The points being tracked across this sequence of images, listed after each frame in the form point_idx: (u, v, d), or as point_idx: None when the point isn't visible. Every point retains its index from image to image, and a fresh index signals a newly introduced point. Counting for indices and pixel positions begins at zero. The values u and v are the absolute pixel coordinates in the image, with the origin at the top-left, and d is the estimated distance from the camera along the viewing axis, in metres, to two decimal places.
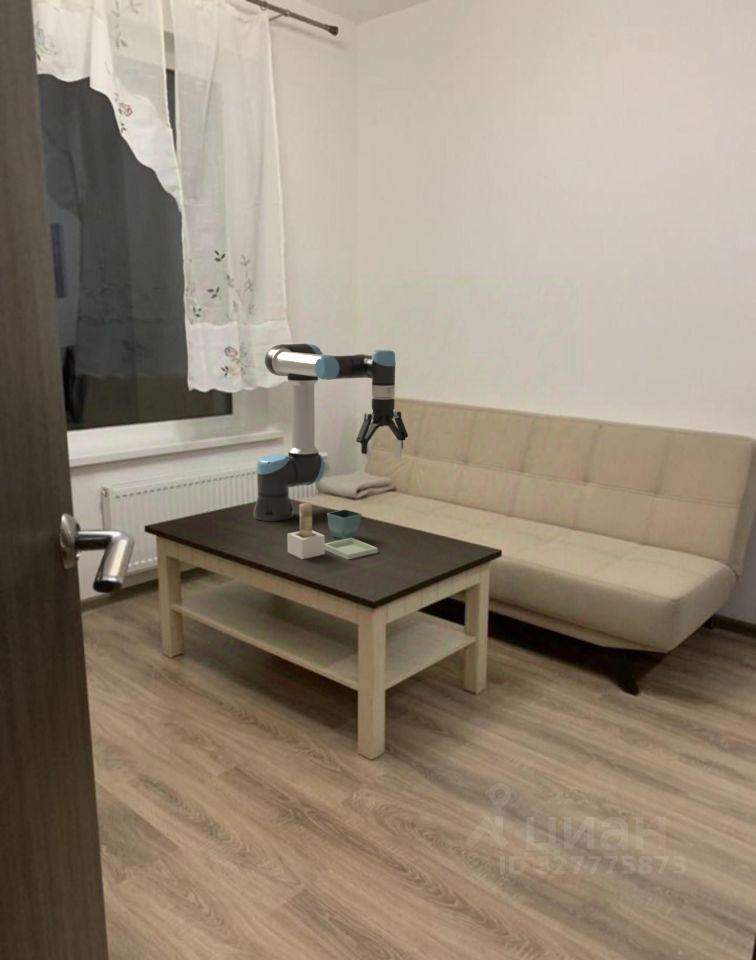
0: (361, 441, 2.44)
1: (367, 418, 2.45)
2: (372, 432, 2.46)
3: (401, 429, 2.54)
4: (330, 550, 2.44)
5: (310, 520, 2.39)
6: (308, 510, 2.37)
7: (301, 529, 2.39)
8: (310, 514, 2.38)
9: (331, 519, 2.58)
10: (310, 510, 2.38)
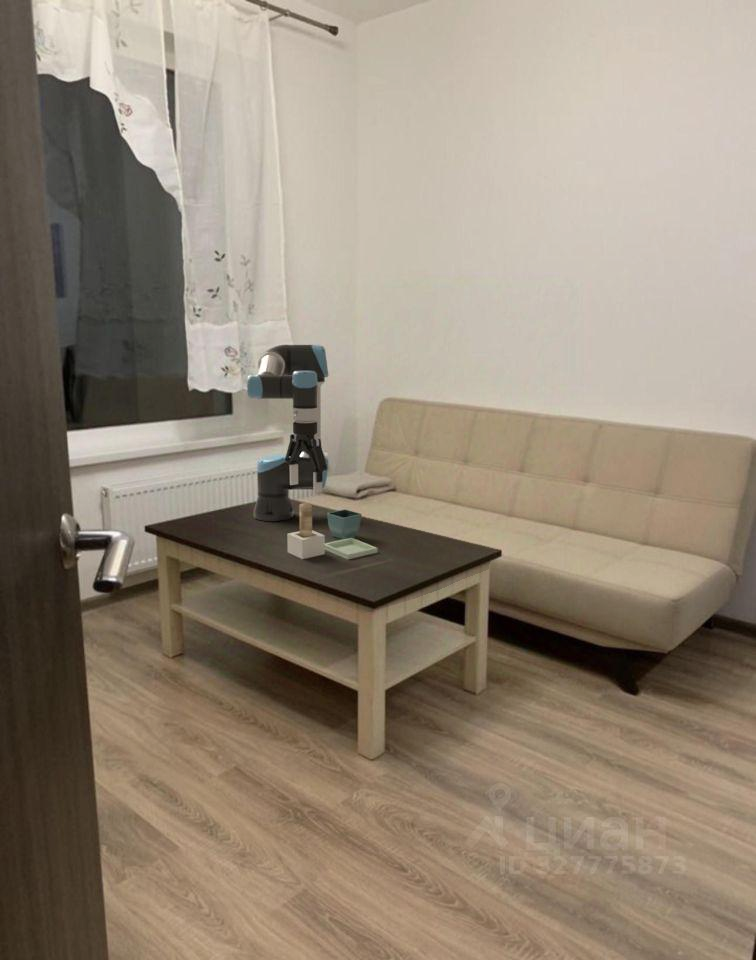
0: (285, 459, 2.42)
1: None
2: (293, 453, 2.38)
3: None
4: (330, 550, 2.44)
5: (310, 520, 2.39)
6: (308, 510, 2.37)
7: (301, 529, 2.39)
8: (310, 514, 2.38)
9: (331, 519, 2.58)
10: (310, 510, 2.38)
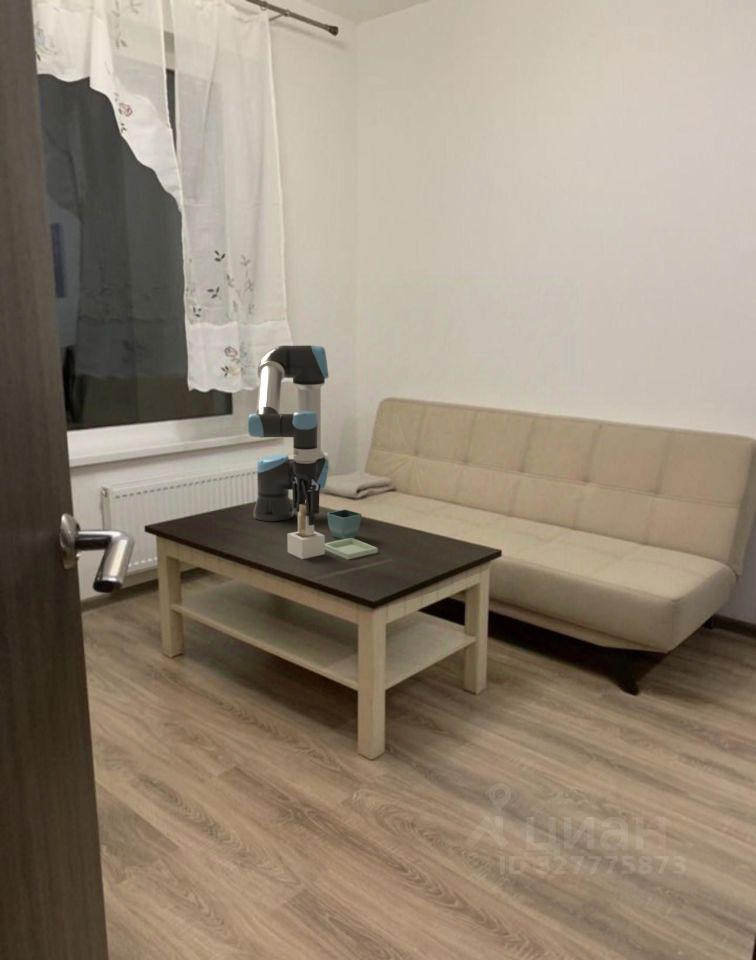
0: (293, 506, 2.42)
1: None
2: (298, 497, 2.39)
3: None
4: (330, 550, 2.44)
5: None
6: None
7: (301, 529, 2.39)
8: None
9: (331, 519, 2.58)
10: None
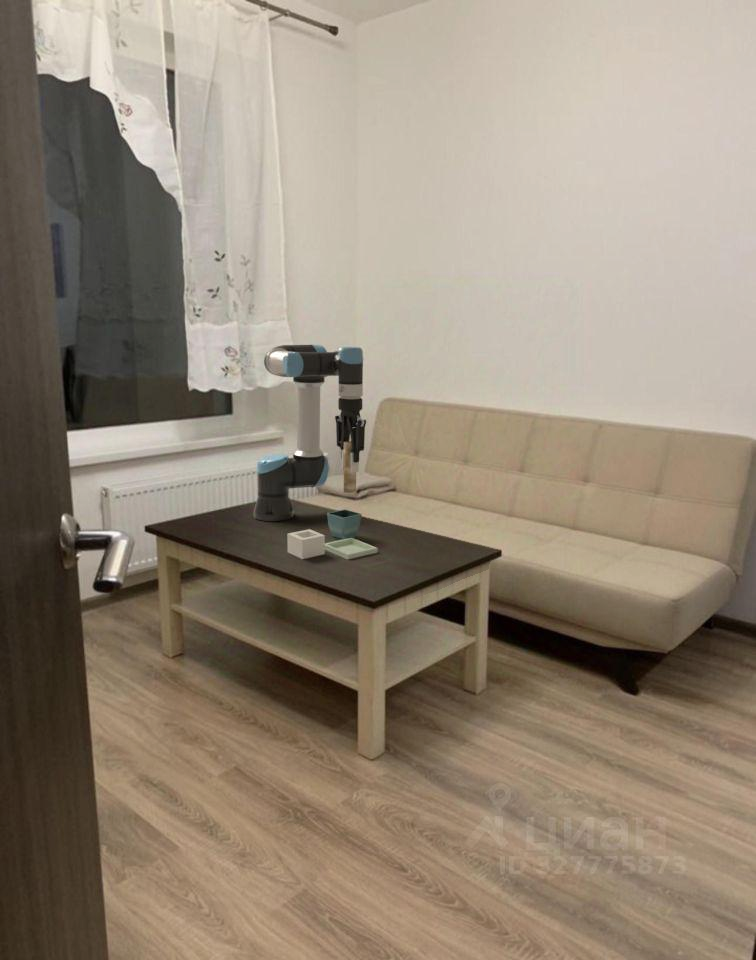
0: (337, 445, 2.41)
1: None
2: (342, 435, 2.39)
3: None
4: (330, 550, 2.44)
5: None
6: None
7: (345, 467, 2.38)
8: None
9: (331, 519, 2.58)
10: None
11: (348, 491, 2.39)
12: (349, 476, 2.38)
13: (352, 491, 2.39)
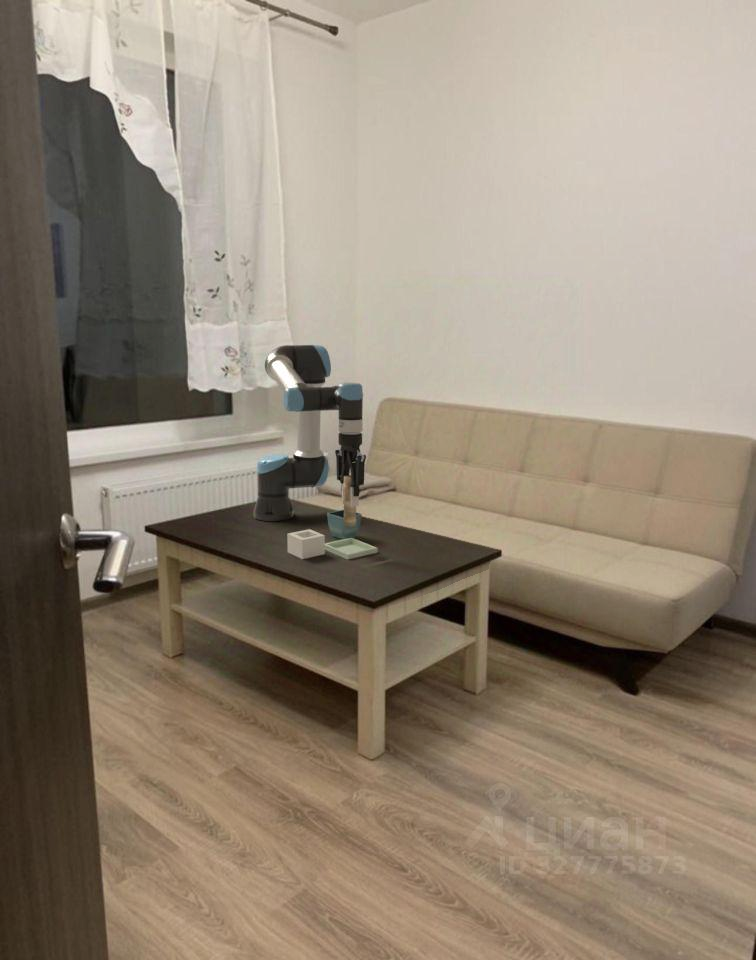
0: (337, 478, 2.44)
1: None
2: (342, 469, 2.41)
3: None
4: (330, 550, 2.44)
5: None
6: None
7: (345, 500, 2.40)
8: None
9: (331, 519, 2.58)
10: None
11: (348, 524, 2.41)
12: (349, 510, 2.40)
13: (352, 524, 2.42)
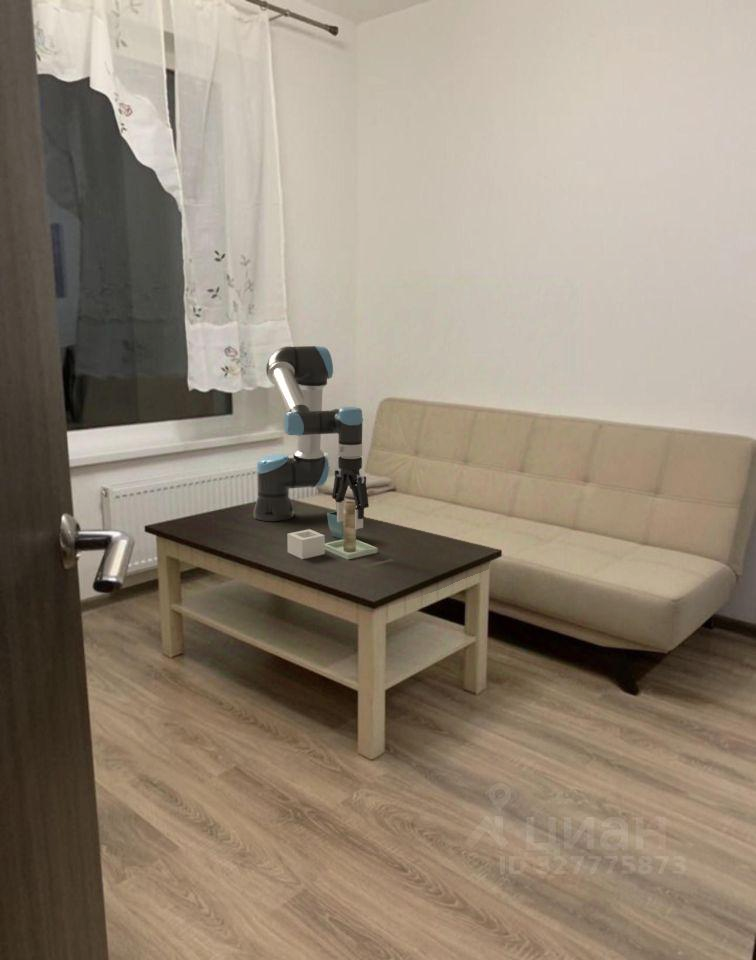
0: (332, 497, 2.47)
1: None
2: (339, 490, 2.44)
3: None
4: (330, 550, 2.44)
5: (354, 518, 2.42)
6: (353, 508, 2.41)
7: (345, 526, 2.42)
8: (354, 511, 2.42)
9: (331, 519, 2.58)
10: (354, 508, 2.41)
11: (348, 550, 2.44)
12: (349, 536, 2.42)
13: (352, 550, 2.44)
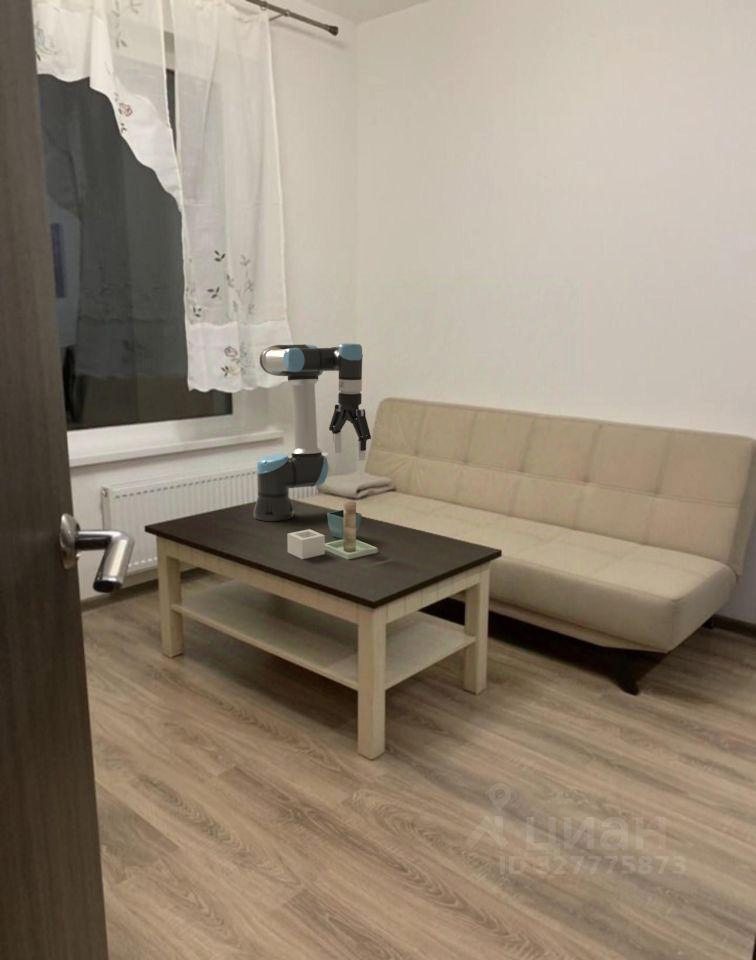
0: None
1: None
2: (337, 423, 2.49)
3: None
4: (330, 550, 2.44)
5: (354, 518, 2.42)
6: (353, 508, 2.41)
7: (345, 527, 2.42)
8: (354, 511, 2.42)
9: (331, 519, 2.58)
10: (354, 508, 2.41)
11: (348, 550, 2.44)
12: (349, 536, 2.42)
13: (352, 550, 2.44)
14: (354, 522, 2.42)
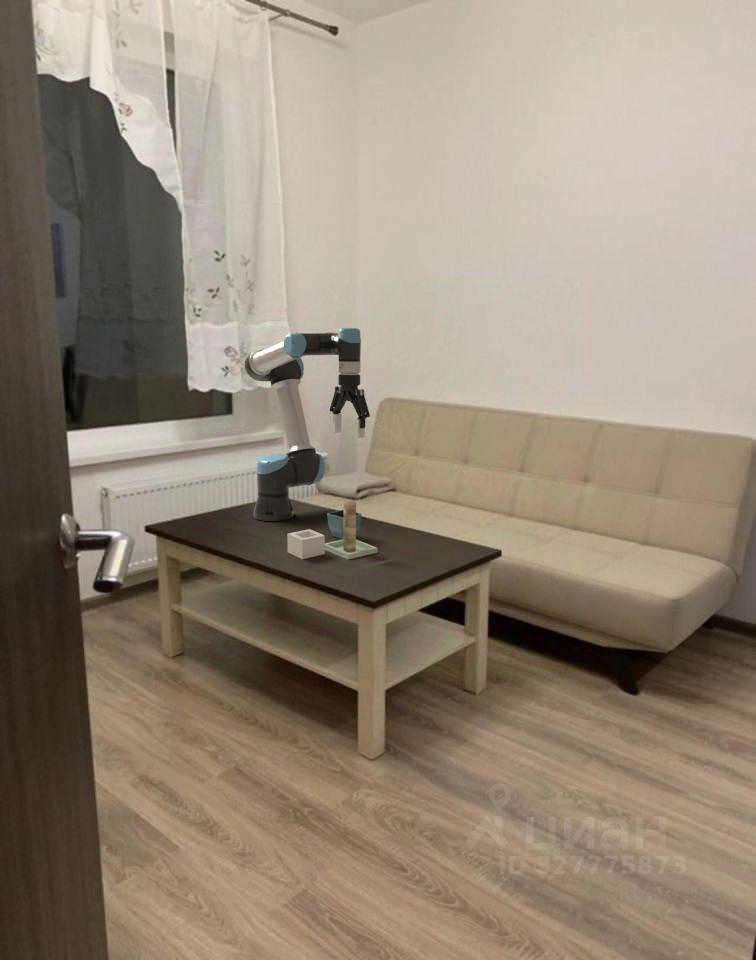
0: (330, 409, 2.68)
1: None
2: (337, 404, 2.64)
3: None
4: (330, 550, 2.44)
5: (354, 518, 2.42)
6: (353, 508, 2.41)
7: (345, 527, 2.42)
8: (354, 511, 2.42)
9: (331, 519, 2.58)
10: (354, 508, 2.41)
11: (348, 550, 2.44)
12: (349, 536, 2.42)
13: (352, 550, 2.44)
14: (354, 522, 2.42)
